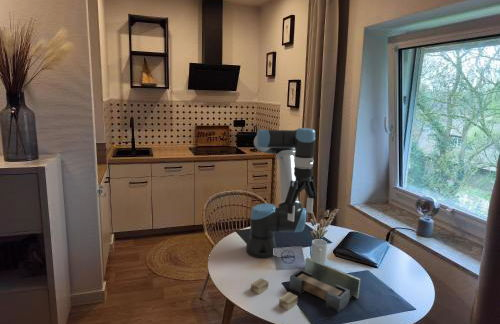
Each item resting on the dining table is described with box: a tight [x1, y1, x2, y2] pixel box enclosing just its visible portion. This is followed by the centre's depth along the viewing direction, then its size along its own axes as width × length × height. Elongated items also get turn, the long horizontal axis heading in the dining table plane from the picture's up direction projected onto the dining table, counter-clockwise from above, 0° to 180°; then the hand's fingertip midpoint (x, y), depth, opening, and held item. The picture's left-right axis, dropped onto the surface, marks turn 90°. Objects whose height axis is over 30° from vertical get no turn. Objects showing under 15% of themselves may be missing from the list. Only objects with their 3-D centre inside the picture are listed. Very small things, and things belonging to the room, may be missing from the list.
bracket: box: [289, 257, 361, 313], centre depth 138 cm, size 24×14×8 cm, turn 48°
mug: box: [310, 238, 328, 265], centre depth 156 cm, size 10×7×12 cm, turn 173°
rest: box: [250, 277, 298, 311], centre depth 135 cm, size 18×6×3 cm, turn 48°
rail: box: [297, 274, 343, 301], centre depth 136 cm, size 18×4×4 cm, turn 48°
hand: (300, 216), depth 146 cm, fingers open, 13 cm apart
